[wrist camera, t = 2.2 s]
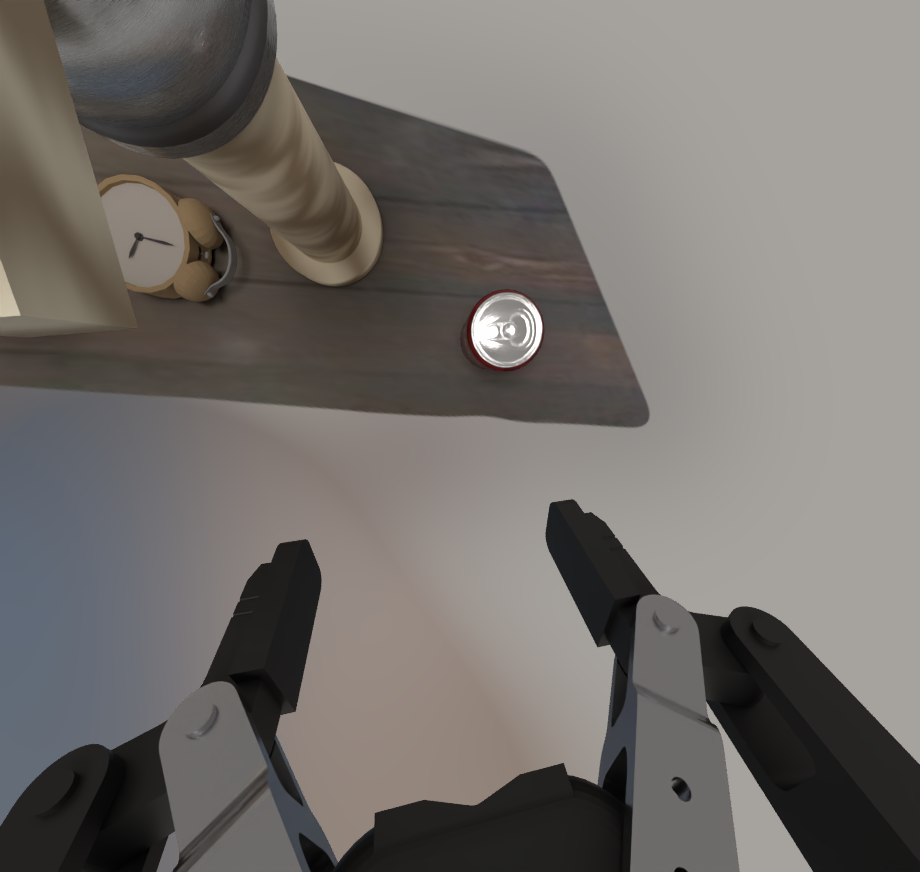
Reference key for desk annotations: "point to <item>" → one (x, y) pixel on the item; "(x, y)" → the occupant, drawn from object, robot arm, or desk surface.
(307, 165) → the beige tall cylinder
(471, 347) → the soda can
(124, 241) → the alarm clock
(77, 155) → the plug rod
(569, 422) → the desk surface
